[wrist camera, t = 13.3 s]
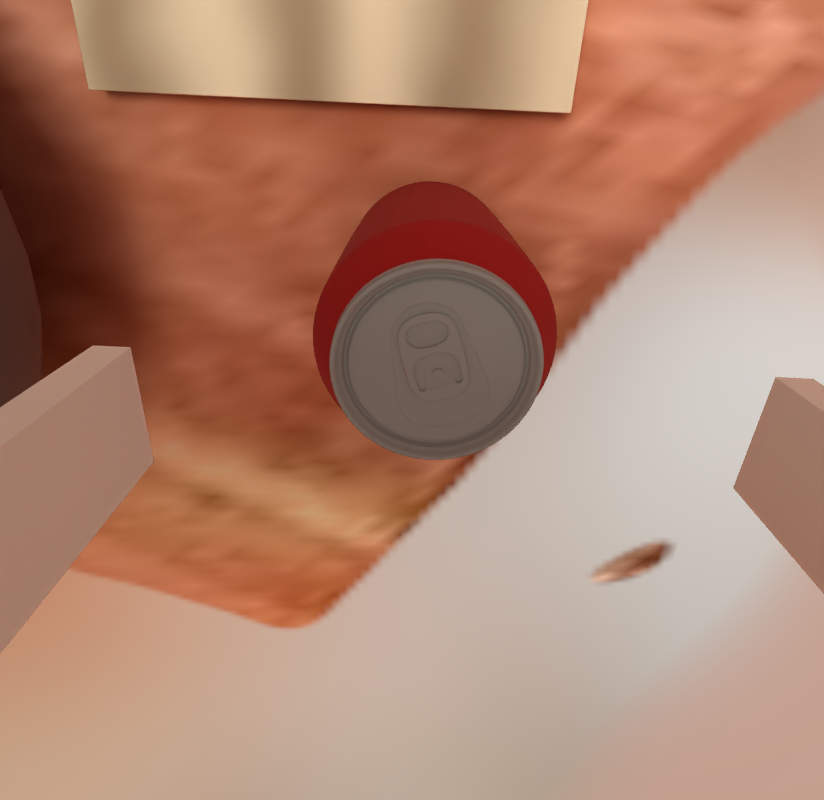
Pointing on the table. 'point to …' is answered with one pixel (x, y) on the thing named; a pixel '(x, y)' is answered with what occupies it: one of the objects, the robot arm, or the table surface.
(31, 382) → the flattened ellipsoid
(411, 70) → the subfloor panel
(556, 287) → the table surface
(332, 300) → the beverage can
